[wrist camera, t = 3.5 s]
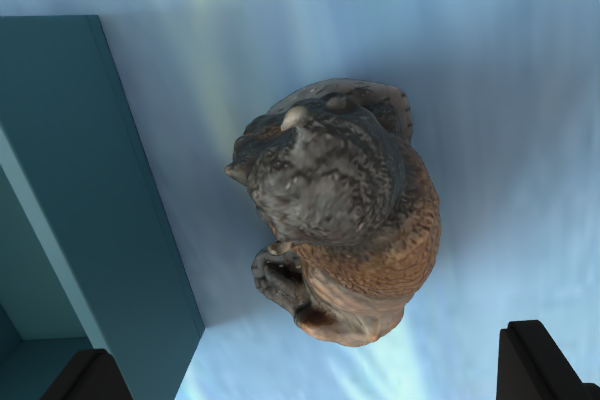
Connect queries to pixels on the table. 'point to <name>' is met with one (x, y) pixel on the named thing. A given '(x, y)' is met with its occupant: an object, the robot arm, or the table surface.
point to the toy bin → (81, 220)
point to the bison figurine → (340, 208)
